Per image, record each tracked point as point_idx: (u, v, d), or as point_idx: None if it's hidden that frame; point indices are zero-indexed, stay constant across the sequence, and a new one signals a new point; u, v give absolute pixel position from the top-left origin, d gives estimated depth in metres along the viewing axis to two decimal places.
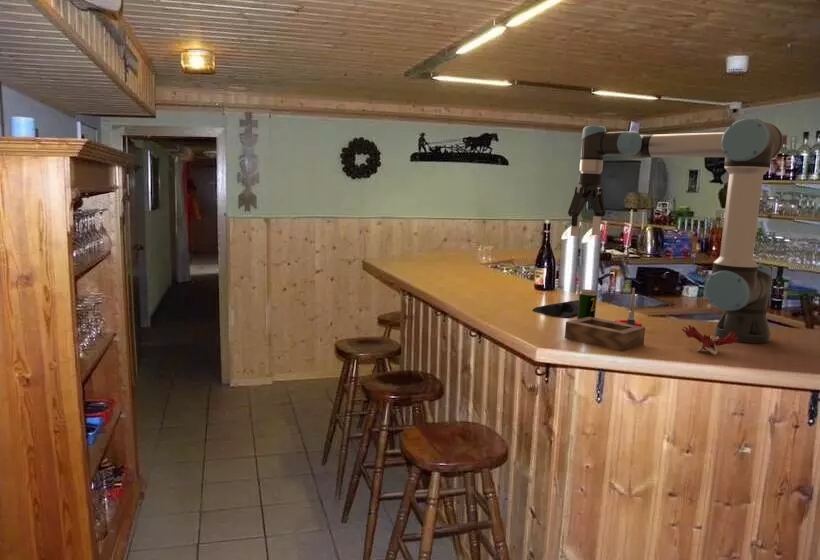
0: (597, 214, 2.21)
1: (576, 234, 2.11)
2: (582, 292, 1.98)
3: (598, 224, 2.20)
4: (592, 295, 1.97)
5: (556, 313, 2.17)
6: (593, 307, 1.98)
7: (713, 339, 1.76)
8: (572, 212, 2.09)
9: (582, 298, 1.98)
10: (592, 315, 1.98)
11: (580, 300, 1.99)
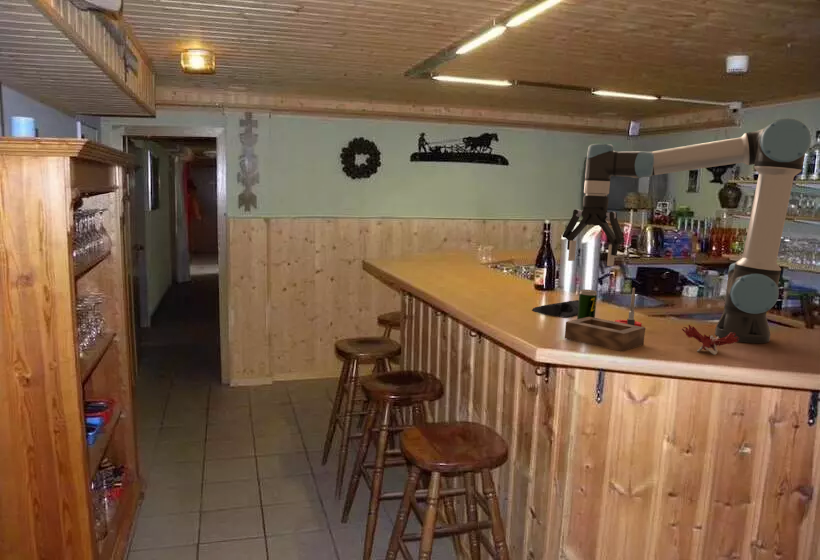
0: None
1: None
2: (582, 292, 1.98)
3: None
4: (592, 295, 1.97)
5: (555, 313, 2.18)
6: (593, 307, 1.98)
7: (713, 339, 1.76)
8: None
9: (582, 298, 1.98)
10: (592, 315, 1.98)
11: (580, 300, 1.99)
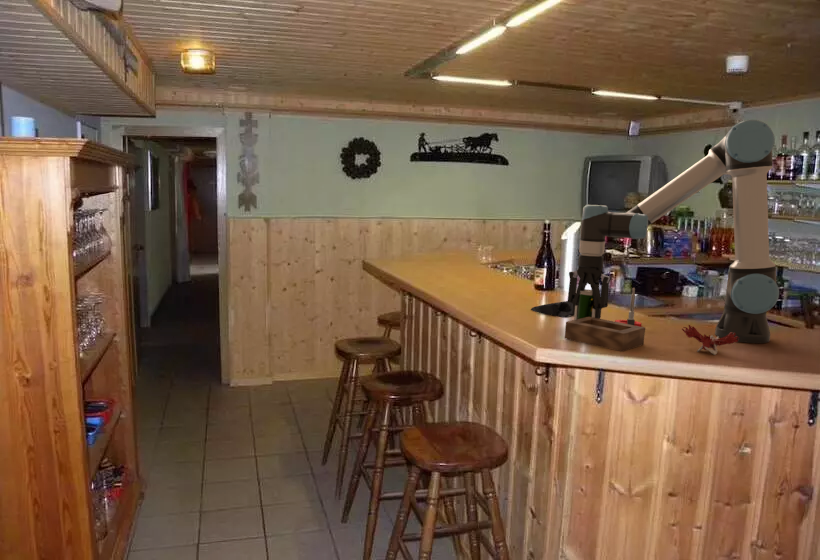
0: None
1: None
2: (582, 292, 1.98)
3: None
4: (592, 295, 1.97)
5: (553, 312, 2.18)
6: (593, 307, 1.98)
7: (713, 339, 1.76)
8: None
9: (582, 298, 1.98)
10: None
11: (580, 300, 1.99)
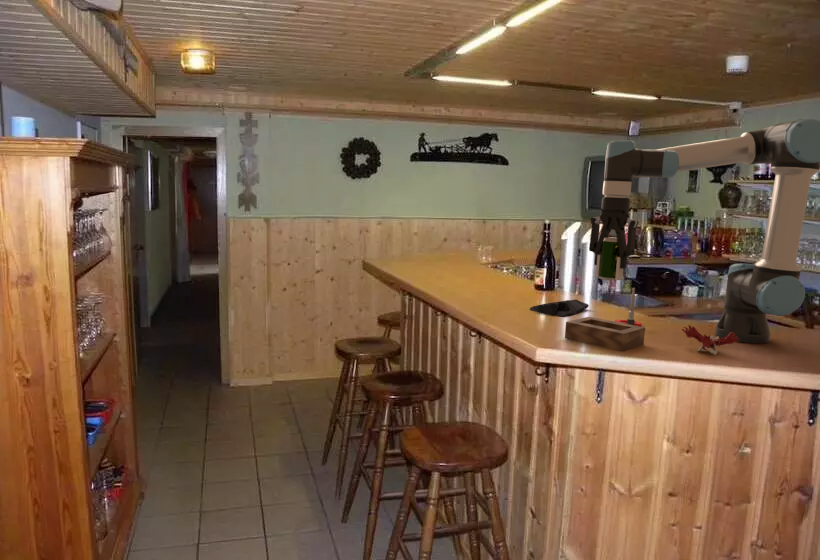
0: None
1: None
2: (606, 239, 1.78)
3: None
4: (617, 242, 1.77)
5: (552, 312, 2.19)
6: (618, 255, 1.78)
7: (713, 339, 1.76)
8: None
9: (605, 246, 1.78)
10: None
11: (604, 247, 1.79)
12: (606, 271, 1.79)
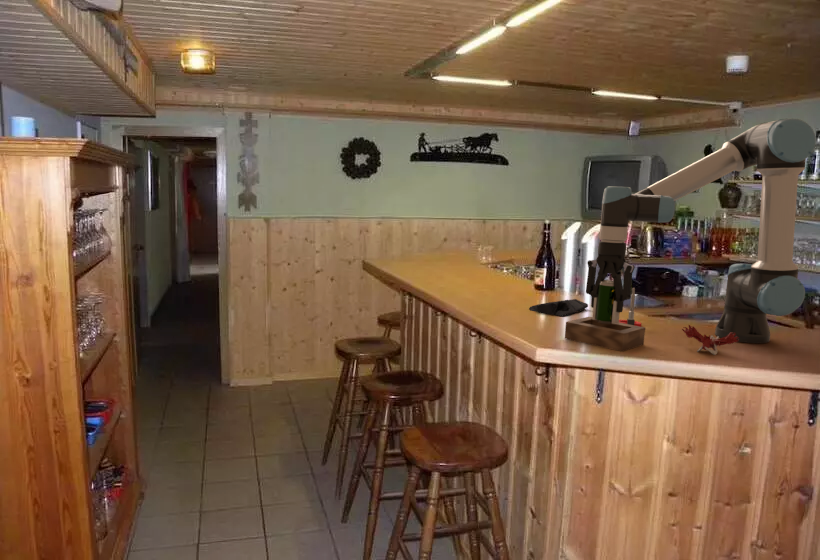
0: None
1: None
2: (602, 283, 1.80)
3: None
4: (613, 286, 1.79)
5: (551, 311, 2.19)
6: (614, 299, 1.80)
7: (713, 339, 1.76)
8: None
9: (602, 290, 1.80)
10: None
11: (600, 291, 1.80)
12: (602, 315, 1.80)
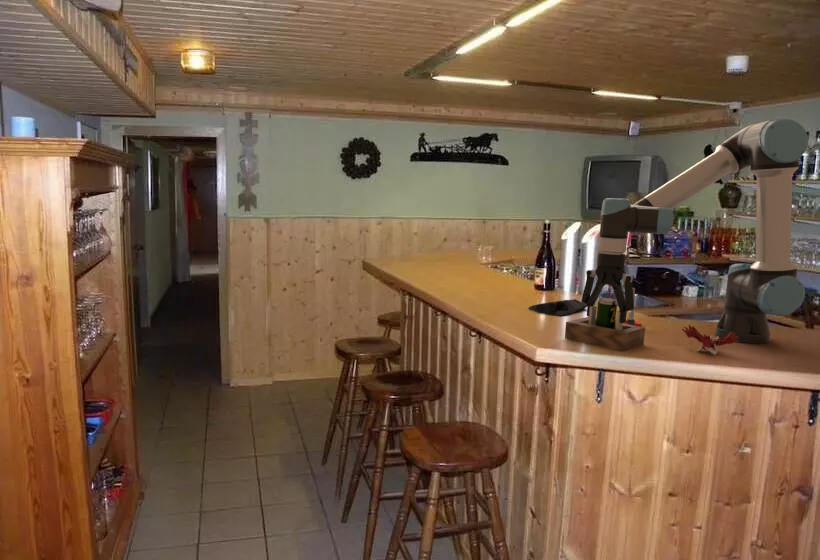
0: None
1: None
2: (601, 301, 1.81)
3: None
4: (612, 304, 1.79)
5: (550, 311, 2.20)
6: (613, 318, 1.80)
7: (713, 339, 1.76)
8: None
9: (601, 308, 1.81)
10: (612, 326, 1.81)
11: (599, 309, 1.81)
12: None
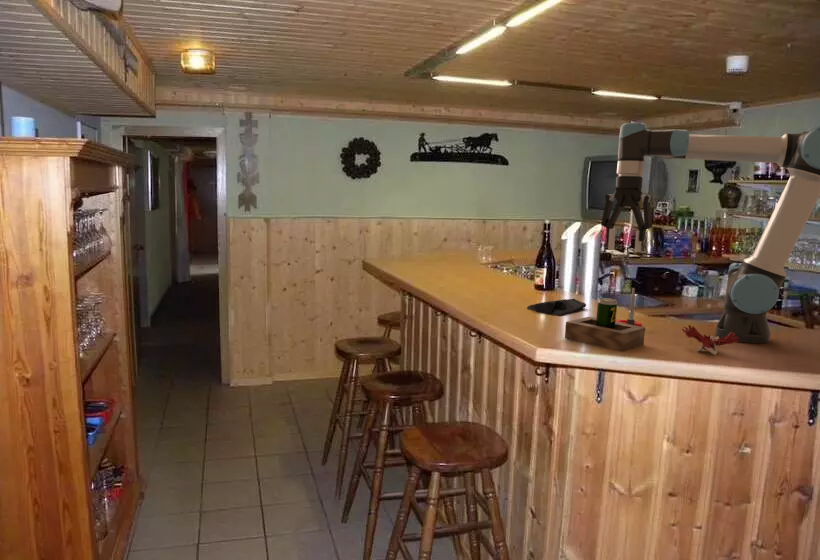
0: None
1: None
2: (601, 301, 1.81)
3: None
4: (612, 304, 1.79)
5: (548, 311, 2.21)
6: (613, 318, 1.80)
7: (713, 339, 1.76)
8: None
9: (601, 308, 1.81)
10: (612, 326, 1.81)
11: (599, 309, 1.81)
12: None
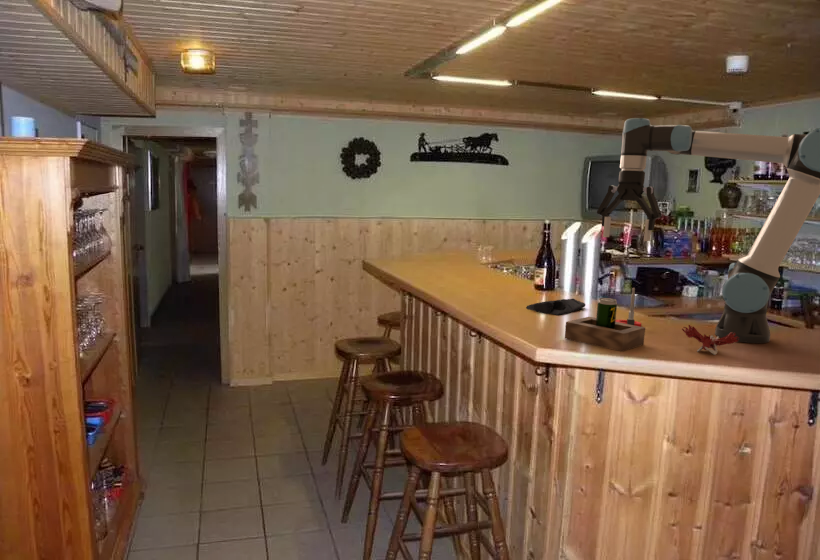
0: None
1: None
2: (601, 301, 1.81)
3: None
4: (612, 304, 1.79)
5: (547, 310, 2.21)
6: (613, 318, 1.80)
7: (713, 339, 1.76)
8: None
9: (601, 308, 1.81)
10: (612, 326, 1.81)
11: (599, 309, 1.81)
12: None
